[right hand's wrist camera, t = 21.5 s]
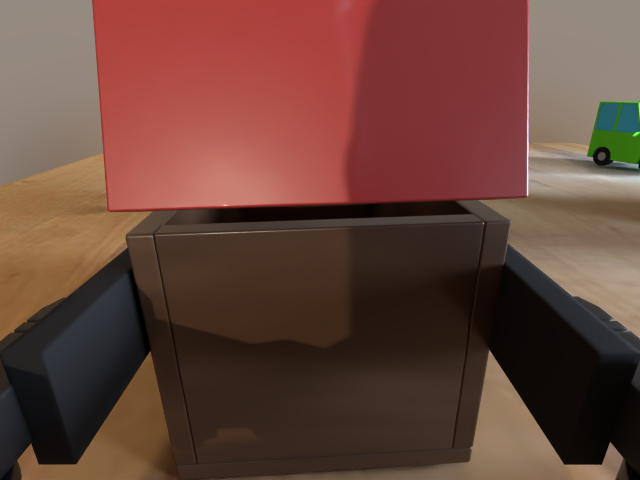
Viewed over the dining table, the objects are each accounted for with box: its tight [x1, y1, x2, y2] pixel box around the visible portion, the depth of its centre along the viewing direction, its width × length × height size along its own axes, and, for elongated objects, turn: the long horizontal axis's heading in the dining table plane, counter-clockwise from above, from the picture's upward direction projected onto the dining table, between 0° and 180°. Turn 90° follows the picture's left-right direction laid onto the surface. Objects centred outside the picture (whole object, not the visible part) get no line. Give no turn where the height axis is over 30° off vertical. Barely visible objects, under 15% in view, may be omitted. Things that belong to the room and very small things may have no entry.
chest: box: [126, 200, 511, 480], centre depth 19 cm, size 16×10×9 cm, turn 3°
